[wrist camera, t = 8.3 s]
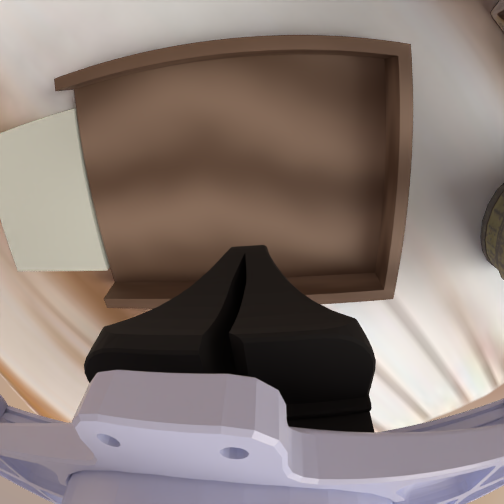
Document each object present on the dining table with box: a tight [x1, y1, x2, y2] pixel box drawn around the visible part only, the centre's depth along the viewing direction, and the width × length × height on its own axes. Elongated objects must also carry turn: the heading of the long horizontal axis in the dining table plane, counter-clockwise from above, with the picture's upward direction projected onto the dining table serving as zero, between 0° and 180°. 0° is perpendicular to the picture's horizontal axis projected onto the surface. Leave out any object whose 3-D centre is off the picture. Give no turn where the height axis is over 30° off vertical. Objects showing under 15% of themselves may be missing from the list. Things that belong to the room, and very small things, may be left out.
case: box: [54, 35, 413, 309], centre depth 19 cm, size 16×20×3 cm
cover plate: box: [0, 108, 110, 271], centre depth 21 cm, size 12×10×2 cm
